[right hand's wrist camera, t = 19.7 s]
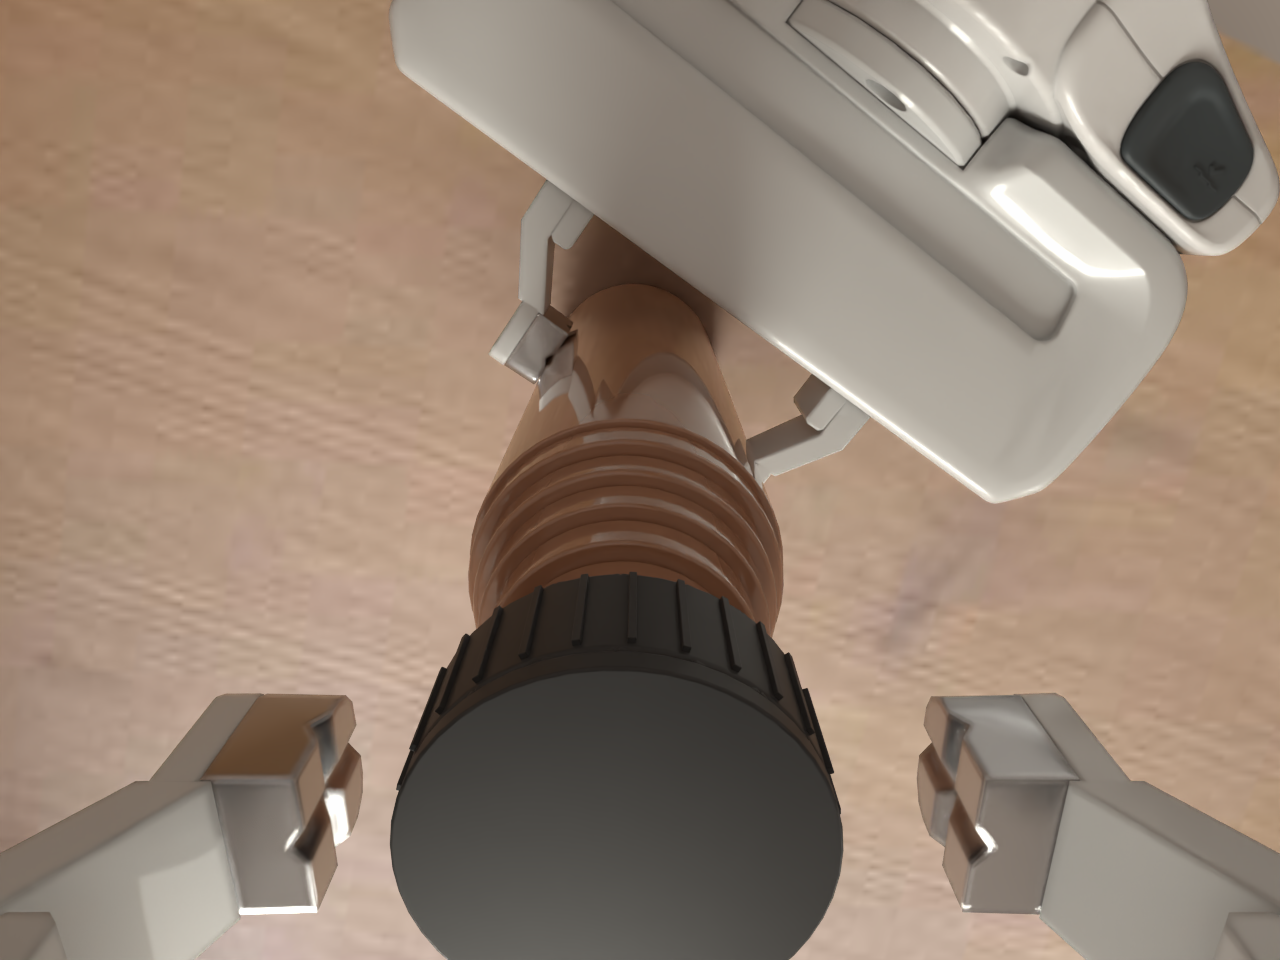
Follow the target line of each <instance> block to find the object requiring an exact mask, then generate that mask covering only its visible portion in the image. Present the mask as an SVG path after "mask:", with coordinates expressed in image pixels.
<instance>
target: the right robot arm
mask: <svg viewBox="0 0 1280 960" xmlns="http://www.w3.org/2000/svg"><path fill="white" fill-rule="evenodd" d="M355 727H356V720H355V715H354V709H353V703H352V701H351V700H350V699H349V698H348V697H347V696H346V695H304V694H265V695H264V694H224V695H221V696H218V697H216V698H215V699H214V700H213V701H212V703H211V704H210V705H209V706H208V708H207V709H206V710H205V711H204V713H203V714H202V715H201V716H200V718H199V719H198V720H197V721H196V723H195V724H194V725H193V726H192V728H191V729H190V730H189V731H188V733H187V734H186V735H185V737H184V738H183V739H182V740H181V742H180V743H179V744H178V745H177V747H176V748H175V749H174V750H173V752H172V753H171V754H170V755H169V757H168V758H167V759H166V760H165V762H164V763H163V764H162V765H161V767H160V768H159V769H158V770H157V772H156V773H155V774H154V775H153V777H152V778H151V779H150V781H135V782H133V783H131V784H130V785H128V786H126V787H124V788H122V789H120V790H118V791H116V792H115V793H113V794H111V795H109V796H107V797H105V798H103V799H101V800H100V801H98V802H96V803H94V804H92V805H90V806H88V807H86V808H85V809H83V810H81V811H79V812H77V813H75V814H73V815H72V816H70V817H68V818H66V819H64V820H62V821H60V822H58V823H57V824H55V825H53V826H51V827H49V828H47V829H45V830H43V831H42V832H40V833H38V834H36V835H34V836H32V837H30V838H28V839H27V840H25V841H23V842H21V843H19V844H17V845H15V846H13V847H12V848H10V849H8V850H6V851H4V852H2V853H0V960H195V959H196V958H197V957H198V956H199V955H200V954H201V953H203V952H204V951H205V950H206V949H207V948H208V947H209V946H210V945H212V944H213V943H214V942H215V941H216V940H217V939H218V938H219V937H220V936H222V935H223V934H224V933H225V932H226V931H227V930H228V929H229V928H231V927H232V926H233V925H234V924H235V923H236V922H237V921H238V920H240V914H270V913H304V912H318V909H319V907H320V905H321V903H322V900H323V898H324V896H325V893H326V891H327V889H328V886H329V884H330V882H331V880H332V877H333V875H334V873H335V870H336V868H337V866H338V864H337V857H336V851H335V847H336V846H337V845H339V844H340V843H341V842H343V841H344V840H345V839H347V838H348V837H349V836H350V835H351V833H352V830H353V828H354V825H355V823H356V820H357V818H358V814H359V809H360V803H361V798H362V793H363V770H362V762H361V755H360V754H359V753H358V752H357V751H356V750H355V749H354V748H353V747H352V746H351V745H350V744H349V743H348V741H349V739H350V737H351V735H352V733H353V731H354V729H355ZM924 727H925V729H926V731H927V733H928V735H929V737H930V739H931V741H932V743H931V744H930V745H929V746H928V747H927V748H926V749H925V750H924V751H923V752H922V753H921V754H920V755H919V763H918V772H917V788H918V801H919V806H920V810H921V814H922V817H923V821H924V823H925V826H926V828H927V830H928V833H929V835H930V836H931V837H932V838H933V839H935V840H936V841H937V842H939V843H940V844H941V845H943V846H944V847H945V851H944V857H943V864H942V866H943V868H944V870H945V873H946V875H947V877H948V880H949V882H950V884H951V886H952V889H953V891H954V893H955V896H956V898H957V900H958V902H959V905H960V907H961V909H962V912H973V913H1009V914H1040V917H1039V918H1040V919H1041V920H1042V921H1043V922H1044V923H1045V924H1047V925H1048V926H1049V927H1050V928H1051V929H1052V930H1053V931H1054V932H1055V933H1057V934H1058V935H1059V936H1060V937H1061V938H1062V939H1063V940H1064V941H1066V942H1067V943H1068V944H1069V945H1070V946H1071V947H1072V948H1073V949H1074V950H1076V951H1077V952H1078V953H1079V954H1080V955H1081V956H1082V957H1083V958H1085V959H1086V960H1280V854H1279V853H1277V852H1276V851H1274V850H1272V849H1270V848H1268V847H1266V846H1264V845H1262V844H1261V843H1259V842H1257V841H1255V840H1253V839H1251V838H1249V837H1248V836H1246V835H1244V834H1242V833H1240V832H1238V831H1236V830H1234V829H1233V828H1231V827H1229V826H1227V825H1225V824H1223V823H1221V822H1220V821H1218V820H1216V819H1214V818H1212V817H1210V816H1208V815H1206V814H1205V813H1203V812H1201V811H1199V810H1197V809H1195V808H1193V807H1191V806H1190V805H1188V804H1186V803H1184V802H1182V801H1180V800H1178V799H1177V798H1175V797H1173V796H1171V795H1169V794H1167V793H1165V792H1163V791H1162V790H1160V789H1158V788H1156V787H1154V786H1152V785H1150V784H1149V783H1147V782H1145V781H1130V779H1129V778H1128V777H1127V776H1126V774H1125V773H1124V772H1123V771H1122V769H1121V768H1120V767H1119V766H1118V764H1117V763H1116V762H1115V761H1114V759H1113V758H1112V757H1111V756H1110V754H1109V753H1108V752H1107V751H1106V749H1105V748H1104V747H1103V745H1102V744H1101V743H1100V742H1099V740H1098V739H1097V738H1096V737H1095V735H1094V734H1093V733H1092V732H1091V730H1090V729H1089V728H1088V727H1087V725H1086V724H1085V723H1084V722H1083V720H1082V719H1081V718H1080V717H1079V715H1078V714H1077V713H1076V712H1075V710H1074V709H1073V708H1072V707H1071V705H1070V704H1069V703H1068V702H1067V700H1066V699H1065V698H1064V697H1062V696H1060V695H1058V694H1056V693H1039V694H1014V695H998V696H931V698H930V700H929V702H928V705H927V707H926V713H925V719H924Z"/></svg>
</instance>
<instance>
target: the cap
mask: <svg viewBox="0 0 1280 960" xmlns="http://www.w3.org/2000/svg"><path fill="white" fill-rule="evenodd" d="M409 749H410V752H409V755H408V758H407V760H406V763H405V765H404V768H403V771H402V773H401V776H400V778H399V781H398V783H397V788H396V790H398V791H399V793H398V795H397V798H396V802H395V807H394V811H393V816H392V820H391V835H390V849H391V858H392V867H393V871H394V875H395V878H396V882H397V886H398V889H399V892H400V894H401V897H402V899H403V901H404V903H405V905H406V908H407V910H408V912H409V914H410V915H411V917H412V918H413V920H414V921H415V923H416V924H417V926H418V927H419V929H420V931H421V932H422V933H423V935H424V936H425V937H426V938H427V939H428V940H429V941H430V943H431V944H432V945H433V946H434V947H435V948H436V950H437V951H438V952H439V953H441V954H442V955H443V956H444V957H445V958H446V959H447V960H789V959H790V958H791V957H793V956H794V955H795V954H796V952H797V951H798V950H799V949H800V948H801V947H802V946H803V945H804V944H805V943H806V941H807V940H808V939H809V938H810V937H811V935H812V934H813V932H814V931H815V929H816V928H817V926H818V925H819V923H820V922H821V921H822V919H823V917H824V915H825V913H826V911H827V909H828V907H829V905H830V903H831V901H832V899H833V896H834V893H835V890H836V886H837V883H838V880H839V876H840V872H841V864H842V857H843V829H842V823H841V818H840V814H841V808H840V805H839V801H838V798H837V795H836V791H835V788H834V785H833V782H832V778H831V775H830V774H832V773H834V770H833V767H832V764H831V761H830V757H829V754H828V751H827V748H826V745H825V742H824V738H823V735H822V732H821V729H820V726H819V723H818V719H817V716H816V713H815V710H814V707H813V703H812V700H811V697H810V694H809V691H808V688H806V689H802V687H801V685H800V681H799V678H798V675H797V671H796V668H795V665H794V661H793V658H792V656H791V655H790V653H787V654H784V653H783V652H782V651H781V649H780V648H779V647H778V645H777V644H776V643H775V642H774V640H773V639H772V638H771V637H770V636H769V635H768V634H767V632H766V628H765V625H764V624H763V623H762V622H761V621H759V622H758V623H757V624H756V623H755V622H754V621H753V620H752V619H750V618H749V617H748V616H747V615H746V614H745V613H743V612H741V611H740V610H739V609H737V608H735V607H734V606H732V605H730V604H729V600H728V599H727V598H726V597H724V596H722V597H721V598H720V599H719V598H717V597H715V596H713V595H711V594H709V593H707V592H704V591H702V590H699V589H696V588H694V587H692V586H690V585H688V584H685V581H684V580H680V579H678V580H677V582H675V581H670V580H666V579H662V578H656V577H648V576H641V575H637V572H629V574H621V575H620V574H609V575H599V576H588V574H581V576H580V578H577V579H573V580H568V581H562V582H558V583H556V584H551V585H549V586H547V587H545V588H543V587H542V585H539V586H537V587H535V588H534V592H532V593H530V594H528V595H526V596H524V597H522V598H520V599H518V600H516V601H514V602H512V603H510V604H509V605H507V606H506V607H504V608H502V607H501V606H500V605H499V606H498V607H496V608H495V609H494V611H493V614H492V616H491V617H490V618H488V619H487V620H486V621H485V622H484V623H483V624H482V625H481V626H480V627H478V628H477V629H476V630H475V631H474V632H473V633H472V634H471V635H470V636H469V635H468V634H465V635H464V636H463V637H462V639H461V641H460V644H459V647H458V649H457V652H456V654H455V656H454V657H453V659H452V661H451V662H450V664H449V666H448V667H447V669H446V668H444V667H441V669H440V671H439V674H438V676H437V679H436V681H435V684H434V686H433V689H432V692H431V694H430V697H429V699H428V702H427V704H426V707H425V710H424V712H423V715H422V717H421V720H420V722H419V725H418V727H417V730H416V733H415V735H414V738H413V740H412V743H411V745H410V748H409Z"/></svg>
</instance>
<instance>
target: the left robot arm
mask: <svg viewBox="0 0 1280 960" xmlns="http://www.w3.org/2000/svg"><path fill="white" fill-rule="evenodd" d="M389 24H390V32H391V39H392V46H393V52H394V57H395V63H396V65H397V67H398V69H399V70H400V71H401V72H402V73H403V74H404V75H405V76H407V77H408V78H409V79H411V80H412V81H413V82H415V83H416V84H417V85H419V86H420V87H421V88H423V89H424V90H426V91H427V92H428V93H430V94H431V95H432V96H434V97H435V98H437V99H438V100H439V101H441V102H442V103H443V104H445V105H446V106H447V107H449V108H450V109H452V110H453V111H454V112H456V113H457V114H458V115H460V116H461V117H462V118H464V119H465V120H467V121H468V122H469V123H471V124H472V125H473V126H475V127H476V128H477V129H479V130H480V131H482V132H483V133H484V134H486V135H487V136H488V137H490V138H491V139H492V140H494V141H495V142H497V143H498V144H499V145H501V146H502V147H503V148H505V149H506V150H507V151H509V152H510V153H512V154H513V155H514V156H516V157H517V158H518V159H520V160H521V161H522V162H524V163H525V164H527V165H528V166H529V167H531V168H532V169H533V170H535V171H536V172H537V173H539V174H540V175H542V176H543V177H544V178H546V179H547V180H546V181H545V183H544V185H543V186H542V188H541V189H540V191H539V193H538V194H537V196H536V197H535V199H534V200H533V202H532V204H531V205H530V207H529V208H528V210H527V212H526V213H525V215H524V216H523V218H522V219H521V243H520V268H519V293H518V298H519V299H520V300H521V301H522V302H521V304H520V305H519V307H518V308H517V310H516V312H515V313H514V315H513V316H512V318H511V319H510V321H509V322H508V324H507V325H506V327H505V328H504V330H503V331H502V333H501V334H500V336H499V337H498V339H497V341H496V342H495V344H494V345H493V347H492V348H491V350H490V352H489V355H490V356H491V357H493V358H494V359H496V360H497V361H498V362H500V363H501V364H502V365H505V366H506V367H508V368H510V369H511V370H513V371H514V372H516V373H517V374H519V375H520V376H522V377H523V378H525V379H526V380H528V381H530V382H531V383H533V384H535V383H536V381H537V380H538V379H539V377H540V376H541V374H542V372H543V370H544V368H545V367H546V364H547V362H548V359H549V358H550V356H553V355H554V354H555V353H556V351H557V350H558V349H559V348H560V346H561V345H562V344H563V342H564V341H565V339H566V338H567V336H568V335H569V332H570V329H571V327H572V325H573V322H572V321H571V320H570V319H568V318H567V317H566V316H564V315H563V314H562V313H560V312H559V311H557V310H556V309H555V308H553V307H552V306H551V305H550V304H551V289H552V275H553V261H554V246H555V243H556V244H558V245H559V246H561V247H562V248H563V249H569V248H571V247H572V246H573V245H574V243H575V242H576V241H577V239H578V238H579V236H580V235H581V233H582V232H583V230H584V229H585V227H586V226H587V225H588V223H589V222H590V220H591V219H592V217H593V216H594V214H595V215H596V216H598V217H599V218H600V219H602V220H603V221H604V222H606V223H607V224H608V225H610V226H611V227H613V228H614V229H615V230H617V231H618V232H619V233H621V234H622V235H623V236H625V237H626V238H628V239H629V240H630V241H632V242H633V243H634V244H636V245H637V246H638V247H640V248H641V249H643V250H644V251H645V252H647V253H648V254H649V255H651V256H652V257H653V258H655V259H656V260H658V261H659V262H660V263H662V264H663V265H664V266H666V267H667V268H668V269H670V270H671V271H673V272H674V273H675V274H677V275H678V276H679V277H681V278H682V279H683V280H685V281H686V282H688V283H689V284H690V285H692V286H693V287H694V288H696V289H697V290H698V291H700V292H701V293H703V294H704V295H705V296H707V297H708V298H709V299H711V300H712V301H713V302H715V303H716V304H718V305H719V306H720V307H722V308H723V309H724V310H726V311H727V312H729V313H730V314H731V315H733V316H734V317H735V318H737V319H738V320H739V321H741V322H742V323H744V324H745V325H746V326H748V327H749V328H750V329H752V330H753V331H754V332H756V333H757V334H759V335H760V336H761V337H763V338H764V339H765V340H767V341H768V342H769V343H771V344H772V345H774V346H775V347H776V348H778V349H779V350H780V351H782V352H783V353H784V354H786V355H787V356H789V357H790V358H791V359H793V360H794V361H795V362H797V363H798V364H799V365H801V366H802V367H804V368H805V369H806V370H808V371H809V372H810V373H812V374H811V376H810V377H809V378H808V379H807V381H806V382H805V383H804V385H803V386H802V387H801V389H800V390H799V391H798V392H797V394H796V395H795V396H794V403H795V405H796V406H797V408H798V409H799V411H800V412H801V414H802V415H800V416H798V417H796V418H793V419H791V420H789V421H787V422H785V423H783V424H780V425H778V426H776V427H774V428H772V429H769V430H767V431H765V432H763V433H761V434H758V435H756V436H754V437H752V438H750V439H747V442H748V445H749V447H750V450H751V453H752V455H753V458H754V461H755V463H756V466H757V469H758V471H759V474H760V477H761V479H762V482H763V484H764V482H765V481H766V480H767V479H768V477H769V476H770V475H771V474H773V475H774V476H777V475H779V474H782V473H785V472H787V471H790V470H792V469H795V468H797V467H800V466H803V465H805V464H808V463H810V462H813V461H816V460H818V459H821V458H823V457H826V456H828V455H831V454H834V453H836V452H839V451H841V450H843V449H844V448H845V446H846V445H847V444H848V443H849V442H850V441H851V439H852V438H853V437H854V436H855V435H856V433H857V432H858V431H859V430H860V429H861V428H862V426H863V425H864V424H865V423H866V422H867V420H868V419H869V418H870V417H872V418H873V419H875V420H876V421H877V422H879V423H880V424H881V425H883V426H884V427H885V428H887V429H888V430H890V431H891V432H892V433H894V434H895V435H896V436H898V437H899V438H900V439H902V440H903V441H905V442H906V443H907V444H909V445H910V446H911V447H913V448H914V449H915V450H917V451H918V452H920V453H921V454H922V455H924V456H925V457H926V458H928V459H929V460H930V461H932V462H933V463H935V464H936V465H937V466H939V467H940V468H941V469H943V470H944V471H945V472H947V473H948V474H950V475H951V476H952V477H954V478H955V479H956V480H958V481H959V482H960V483H962V484H963V485H965V486H966V487H967V488H969V489H970V490H971V491H973V492H974V493H976V494H977V495H978V496H980V497H981V498H982V499H984V500H985V501H987V502H990V503H1001V502H1006V501H1010V500H1014V499H1017V498H1021V497H1024V496H1028V495H1031V494H1034V493H1037V492H1039V491H1041V490H1043V489H1044V488H1046V487H1047V486H1048V485H1049V484H1051V483H1052V482H1053V481H1054V480H1055V479H1056V478H1057V477H1058V476H1059V475H1060V474H1061V473H1062V472H1063V471H1064V470H1065V469H1066V468H1067V467H1068V466H1069V465H1070V464H1071V463H1072V462H1073V461H1074V460H1075V459H1076V458H1077V457H1078V456H1079V455H1080V453H1081V452H1082V451H1083V450H1084V449H1085V448H1086V447H1087V446H1088V445H1089V444H1090V443H1091V441H1092V440H1093V439H1094V438H1095V437H1096V436H1097V435H1098V433H1099V432H1100V431H1101V430H1102V429H1103V428H1104V426H1105V425H1106V424H1107V423H1108V422H1109V421H1110V420H1111V418H1112V417H1113V416H1114V415H1115V414H1116V412H1117V411H1118V410H1119V409H1120V408H1121V406H1122V405H1123V404H1124V403H1125V402H1126V400H1127V399H1128V398H1129V397H1130V395H1131V394H1132V393H1133V392H1134V390H1135V389H1136V388H1137V387H1138V385H1139V384H1140V383H1141V381H1142V380H1143V379H1144V378H1145V376H1146V375H1147V374H1148V372H1149V371H1150V370H1151V368H1152V367H1153V366H1154V364H1155V363H1156V362H1157V360H1158V359H1159V358H1160V356H1161V355H1162V353H1163V352H1164V350H1165V349H1166V347H1167V346H1168V344H1169V343H1170V341H1171V339H1172V337H1173V335H1174V333H1175V332H1176V330H1177V328H1178V325H1179V323H1180V321H1181V318H1182V315H1183V312H1184V309H1185V305H1186V300H1187V292H1188V282H1187V275H1186V270H1185V267H1184V263H1183V261H1182V259H1181V257H1180V255H1179V254H1186V255H1203V256H1218V255H1223V254H1226V253H1228V252H1230V251H1232V250H1233V249H1235V248H1236V247H1238V246H1239V245H1240V244H1241V243H1243V242H1244V241H1245V240H1246V239H1247V238H1248V237H1249V236H1250V235H1251V234H1252V233H1253V232H1254V231H1255V230H1256V229H1257V228H1258V227H1259V226H1260V224H1262V223H1263V222H1264V221H1265V219H1266V218H1267V217H1268V215H1269V214H1270V213H1271V211H1272V210H1273V208H1274V206H1275V205H1276V202H1277V200H1278V197H1279V191H1280V184H1279V177H1278V173H1277V170H1276V167H1275V164H1274V162H1273V159H1272V157H1271V155H1270V152H1269V150H1268V148H1267V146H1266V144H1265V142H1264V139H1263V137H1262V135H1261V133H1260V131H1259V129H1258V127H1257V124H1256V122H1255V120H1254V118H1253V116H1252V113H1251V111H1250V109H1249V107H1248V105H1247V102H1246V100H1245V98H1244V96H1243V93H1242V91H1241V89H1240V86H1239V84H1238V82H1237V79H1236V77H1235V75H1234V72H1233V70H1232V67H1231V65H1230V62H1229V60H1228V57H1227V55H1226V52H1225V50H1224V47H1223V44H1222V42H1221V39H1220V36H1219V33H1218V31H1217V28H1216V25H1215V22H1214V19H1213V17H1212V13H1211V10H1210V7H1209V4H1208V1H1207V0H392V2H391V5H390V9H389ZM507 359H508V360H507ZM505 362H506V363H505Z"/></svg>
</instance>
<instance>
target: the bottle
mask: <svg viewBox="0 0 1280 960" xmlns="http://www.w3.org/2000/svg"><path fill="white" fill-rule="evenodd" d="M568 319H570V320H571V321H572V322H573V325H572V327H571V329H570V332H569V335H568V336H567V338H566V339H565V341H564V342H563V344H562V345H561V346H560V348H559V349H558V350H557V351H556V353H555V354H554V355H553V356H550V358H549V359H548V362H547V364H546V367H545V368H544V370H543V372H542V374H541V376H540V378H539V381H538V383H537V385H536V387H535V389H534V392H533V394H532V396H531V398H530V400H529V402H528V405H527V407H526V409H525V411H524V413H523V416H522V418H521V420H520V422H519V424H518V427H517V429H516V431H515V433H514V435H513V438H512V440H511V442H510V444H509V446H508V448H507V451H506V453H505V455H504V457H503V459H502V462H501V464H500V466H499V468H498V470H497V473H496V475H495V477H494V479H493V481H492V484H491V486H490V488H489V490H488V492H487V495H486V497H485V499H484V501H483V504H482V506H481V508H480V511H479V513H478V515H477V518H476V522H475V526H474V529H473V533H472V540H471V549H470V562H469V571H468V581H469V595H470V601H471V606H472V611H473V614H474V619H475V625H476V629H477V628H478V627H480V626H481V625H482V624H483V623H484V622H485V621H486V620H487V619H488V618H490V617H491V616H492V614H493V611H494V609H495V608H496V607H498V606H499V605H500V606H501V607H502V608H504V607H506V606H507V605H509V604H510V603H512V602H514V601H516V600H518V599H520V598H522V597H524V596H526V595H528V594H530V593H532V592H534V588H535V587H537V586H539V585H542V587H543V588H545V587H547V586H549V585H551V584H556V583H558V582H562V581H568V580H573V579H577V578H580V576H581V574H588V576H599V575H609V574H620V575H621V574H629V572H637V575H641V576H648V577H656V578H662V579H666V580H670V581H675V582H677V580H678V579H680V580H684V581H685V584H688V585H690V586H692V587H694V588H696V589H699V590H702V591H704V592H707V593H709V594H711V595H713V596H715V597H717V598H719V599H720V598H721V597H722V596H724V597H726V598H727V599H728V600H729V604H730V605H732V606H734V607H735V608H737V609H739V610H740V611H741V612H743V613H745V614H746V615H747V616H748V617H749V618H750V619H752V620H753V621H754V622H755V623H756V624H757V623H758V622H759V621H761V622H762V623H763V624H764V625H765V628H766V632H767V634H768V635H769V636H770V637H771V638H772V636H773V632H774V628H775V624H776V622H777V618H778V614H779V611H780V607H781V603H782V594H783V585H784V584H783V547H782V541H781V535H780V530H779V526H778V523H777V520H776V517H775V514H774V511H773V508H772V506H771V503H770V500H769V498H768V495H767V492H766V490H765V487H764V484H763V482H762V479H761V477H760V474H759V471H758V469H757V466H756V463H755V461H754V458H753V455H752V453H751V450H750V447H749V445H748V442H747V439H746V437H745V434H744V431H743V429H742V426H741V423H740V421H739V418H738V415H737V413H736V410H735V407H734V405H733V402H732V399H731V397H730V394H729V391H728V389H727V386H726V383H725V381H724V378H723V375H722V373H721V370H720V368H719V365H718V362H717V360H716V357H715V354H714V352H713V349H712V346H711V344H710V341H709V338H708V336H707V333H706V331H705V329H704V327H703V325H702V323H701V321H700V320H699V318H698V317H697V315H696V314H695V313H694V312H693V310H692V309H691V308H690V307H689V306H688V305H687V304H686V303H684V302H683V301H682V300H681V299H679V298H678V297H676V296H675V295H673V294H672V293H669V292H667V291H665V290H663V289H660V288H657V287H654V286H650V285H644V284H623V285H617V286H613V287H609V288H606V289H604V290H601V291H599V292H597V293H595V294H593V295H592V296H590V297H589V298H587V299H586V300H585V301H583V302H582V303H581V304H580V305H579V306H578V307H577V308H576V309H575V310H574V311H573V312H572V314H571V315H570V316H569V317H568Z"/></svg>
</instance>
